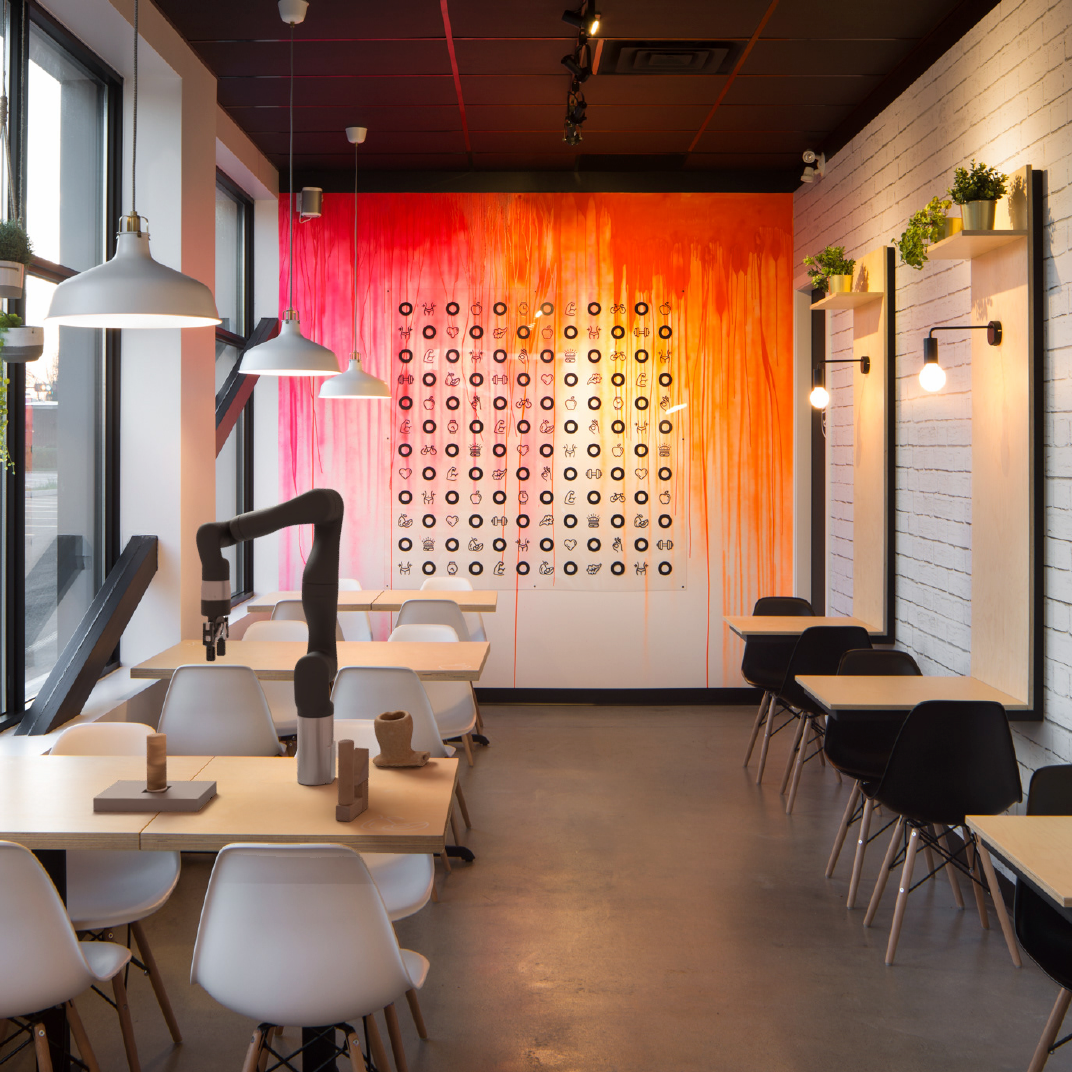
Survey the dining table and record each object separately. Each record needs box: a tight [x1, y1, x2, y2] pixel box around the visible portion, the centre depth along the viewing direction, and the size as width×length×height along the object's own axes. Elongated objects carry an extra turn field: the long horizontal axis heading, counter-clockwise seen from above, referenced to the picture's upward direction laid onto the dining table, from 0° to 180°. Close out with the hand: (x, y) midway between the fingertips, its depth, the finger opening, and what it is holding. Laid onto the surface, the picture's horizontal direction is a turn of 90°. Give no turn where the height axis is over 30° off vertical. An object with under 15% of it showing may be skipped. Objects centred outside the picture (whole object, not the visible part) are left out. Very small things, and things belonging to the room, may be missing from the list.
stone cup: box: [372, 709, 432, 767], centre depth 264 cm, size 15×12×15 cm
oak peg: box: [146, 732, 168, 793], centre depth 231 cm, size 5×5×16 cm
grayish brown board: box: [92, 779, 218, 813], centre depth 231 cm, size 24×14×3 cm, turn 91°
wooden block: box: [335, 738, 370, 823], centre depth 223 cm, size 4×11×18 cm, turn 167°
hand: (216, 658), depth 256 cm, fingers open, 8 cm apart
